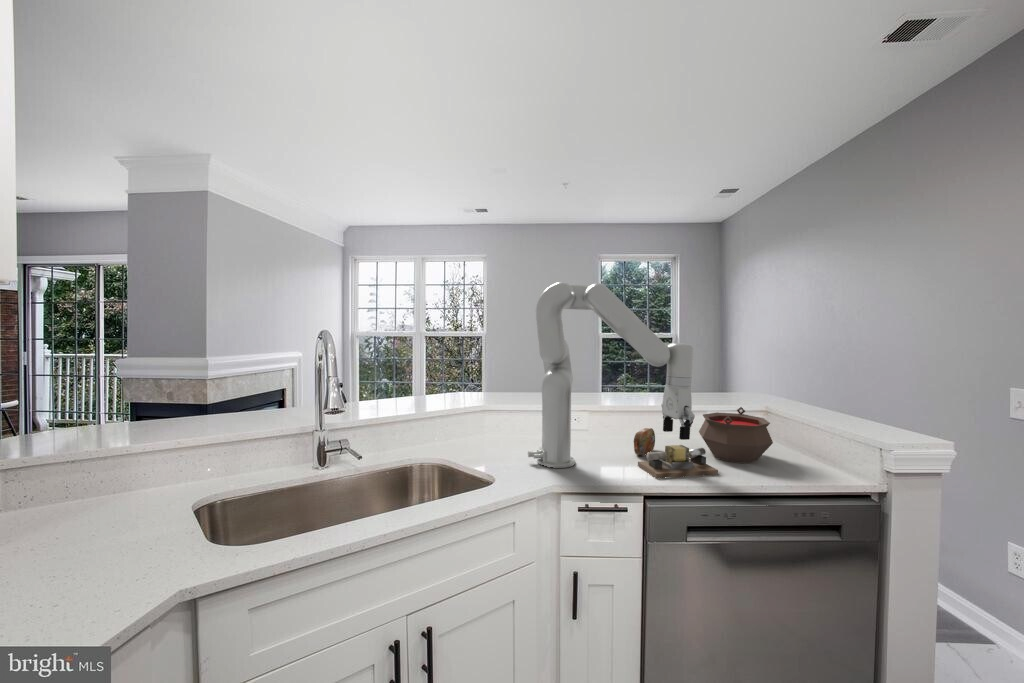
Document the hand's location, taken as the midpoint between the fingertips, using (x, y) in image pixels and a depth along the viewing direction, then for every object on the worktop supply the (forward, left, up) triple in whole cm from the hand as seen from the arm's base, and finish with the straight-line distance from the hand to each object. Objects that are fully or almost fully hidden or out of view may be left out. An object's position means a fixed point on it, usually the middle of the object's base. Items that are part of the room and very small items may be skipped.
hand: (675, 435), depth 145 cm
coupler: (+1, 0, -9) cm, 9 cm away
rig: (+1, 0, -11) cm, 11 cm away
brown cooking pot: (+29, +10, -12) cm, 32 cm away
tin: (0, +20, -12) cm, 23 cm away
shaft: (+8, +1, -10) cm, 13 cm away
